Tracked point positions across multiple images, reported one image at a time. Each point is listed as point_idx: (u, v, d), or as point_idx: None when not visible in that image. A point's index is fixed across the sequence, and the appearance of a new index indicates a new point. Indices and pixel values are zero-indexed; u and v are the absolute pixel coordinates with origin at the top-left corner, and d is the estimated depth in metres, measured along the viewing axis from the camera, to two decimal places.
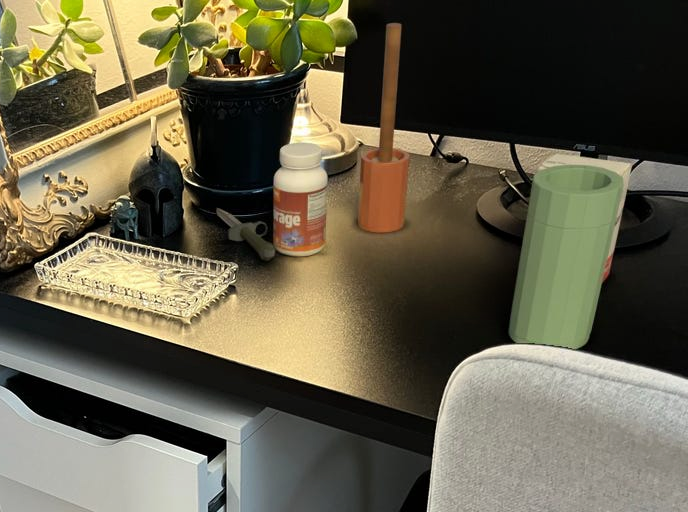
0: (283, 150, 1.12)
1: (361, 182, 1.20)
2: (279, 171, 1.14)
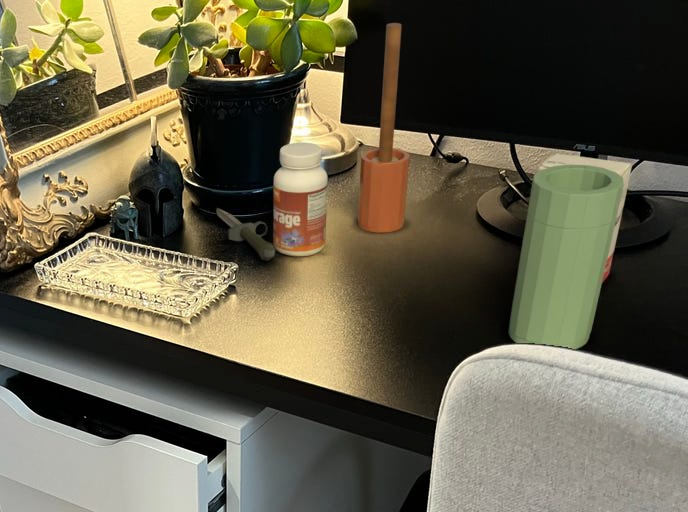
0: (283, 150, 1.12)
1: (361, 182, 1.20)
2: (279, 171, 1.14)
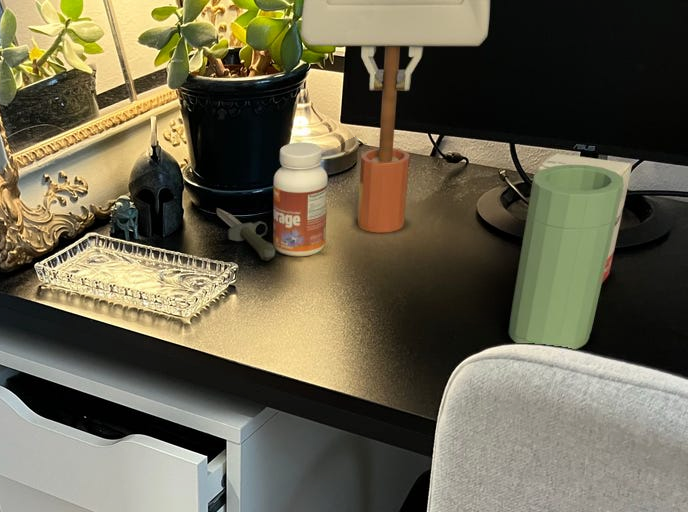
0: (283, 150, 1.12)
1: (361, 182, 1.20)
2: (279, 171, 1.14)
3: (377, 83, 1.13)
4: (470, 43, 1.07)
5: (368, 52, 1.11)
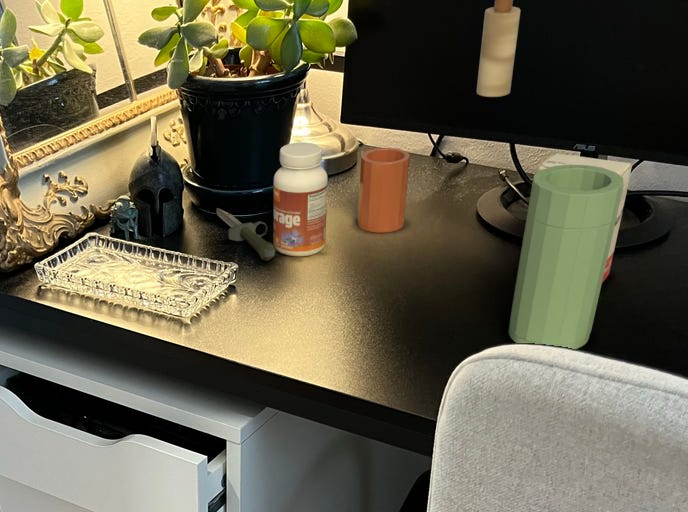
0: (283, 150, 1.12)
1: (361, 182, 1.20)
2: (279, 171, 1.14)
3: None
4: None
5: None
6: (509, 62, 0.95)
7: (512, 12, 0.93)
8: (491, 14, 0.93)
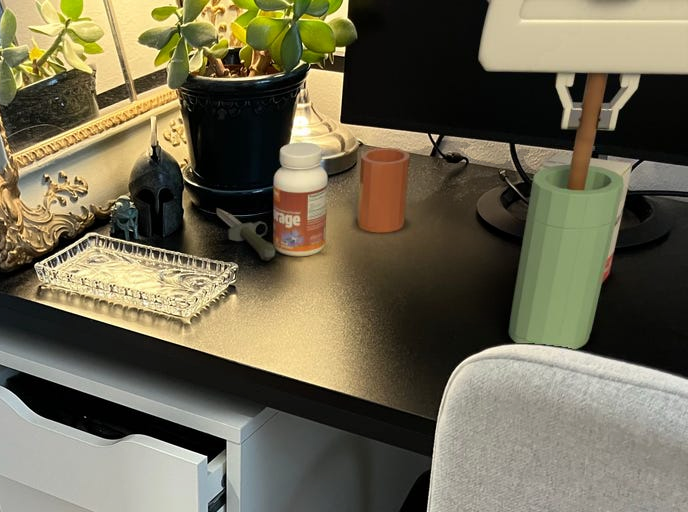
0: (283, 150, 1.12)
1: (361, 182, 1.20)
2: (279, 171, 1.14)
3: (572, 121, 0.87)
4: None
5: (566, 80, 0.85)
6: None
7: None
8: None
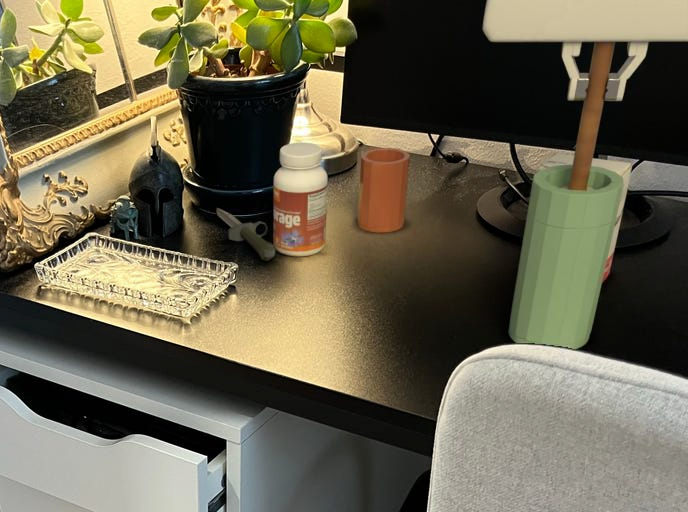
0: (283, 150, 1.12)
1: (361, 182, 1.20)
2: (279, 171, 1.14)
3: (579, 92, 0.86)
4: None
5: (572, 50, 0.83)
6: None
7: None
8: None
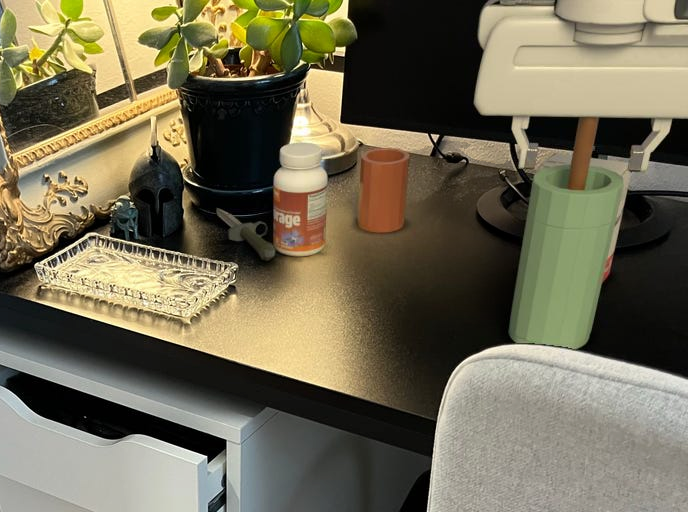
0: (283, 150, 1.12)
1: (361, 182, 1.20)
2: (279, 171, 1.14)
3: (528, 161, 0.90)
4: None
5: (521, 123, 0.88)
6: None
7: None
8: None
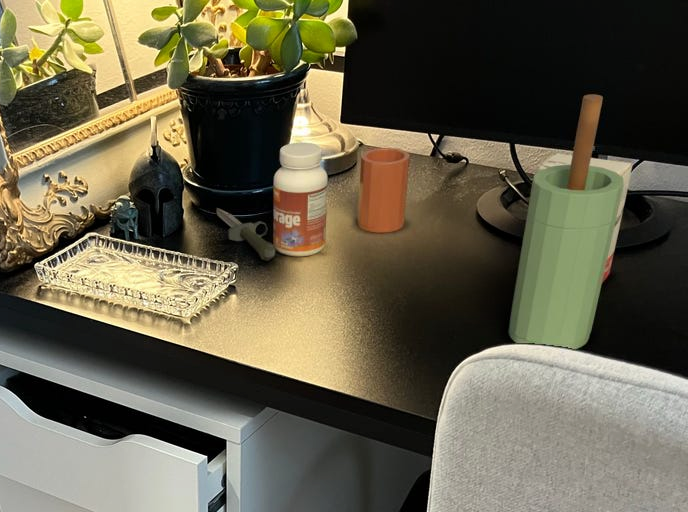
0: (283, 150, 1.12)
1: (361, 182, 1.20)
2: (279, 171, 1.14)
3: None
4: None
5: None
6: None
7: None
8: None
